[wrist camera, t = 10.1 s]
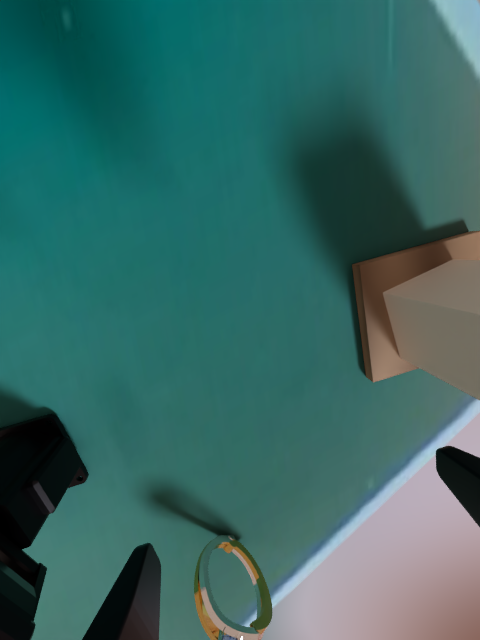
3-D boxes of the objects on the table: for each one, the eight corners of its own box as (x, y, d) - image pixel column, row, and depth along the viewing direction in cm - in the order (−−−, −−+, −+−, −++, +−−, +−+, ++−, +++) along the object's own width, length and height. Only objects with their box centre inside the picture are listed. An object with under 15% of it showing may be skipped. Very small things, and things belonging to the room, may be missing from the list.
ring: (190, 534, 24) (184, 664, 17) (211, 512, 24) (215, 634, 16) (244, 560, 26) (261, 687, 19) (265, 540, 26) (291, 661, 18)
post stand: (365, 376, 22) (399, 402, 19) (352, 264, 20) (387, 267, 16) (468, 344, 23) (521, 363, 19) (469, 231, 20) (531, 226, 16)
